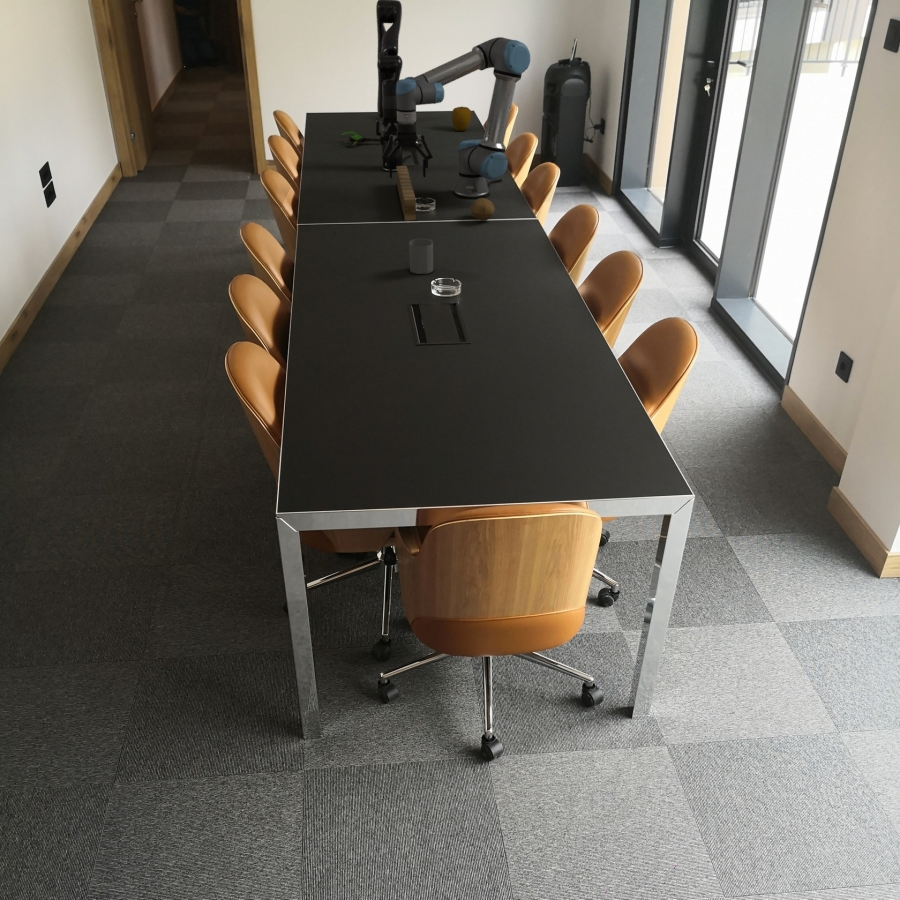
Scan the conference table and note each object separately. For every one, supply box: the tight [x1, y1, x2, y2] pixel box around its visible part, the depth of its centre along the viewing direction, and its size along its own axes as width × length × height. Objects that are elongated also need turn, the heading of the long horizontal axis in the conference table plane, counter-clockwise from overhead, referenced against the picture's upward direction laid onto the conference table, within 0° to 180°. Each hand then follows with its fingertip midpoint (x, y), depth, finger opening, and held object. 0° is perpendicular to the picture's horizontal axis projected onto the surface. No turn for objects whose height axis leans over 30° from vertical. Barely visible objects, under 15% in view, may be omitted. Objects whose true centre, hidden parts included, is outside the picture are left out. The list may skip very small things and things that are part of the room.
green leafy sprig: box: [339, 131, 380, 148], centre depth 462 cm, size 6×13×30 cm
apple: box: [451, 105, 472, 132], centre depth 487 cm, size 11×11×13 cm
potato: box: [470, 197, 495, 221], centre depth 354 cm, size 10×14×8 cm
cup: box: [408, 237, 434, 275], centre depth 305 cm, size 8×8×10 cm
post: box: [396, 165, 417, 222], centre depth 374 cm, size 52×5×9 cm, turn 7°
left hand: (392, 144), depth 381 cm, fingers open, 8 cm apart
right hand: (407, 176), depth 353 cm, fingers open, 13 cm apart
